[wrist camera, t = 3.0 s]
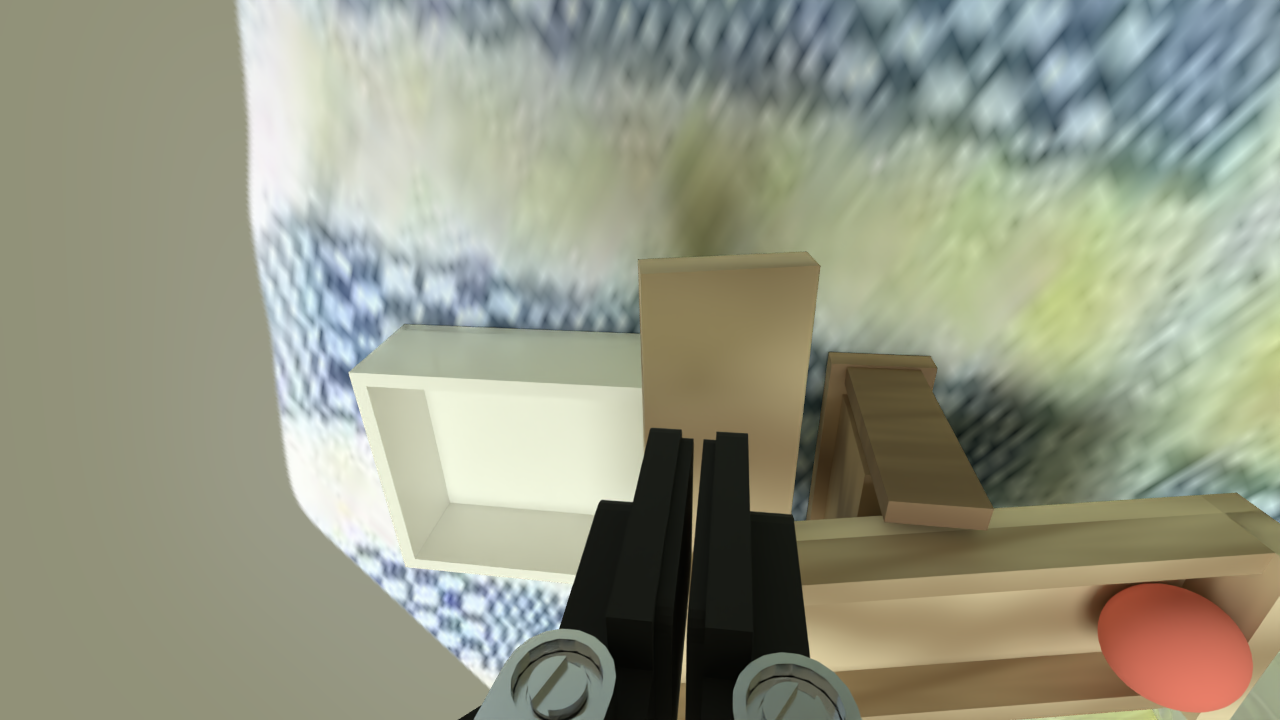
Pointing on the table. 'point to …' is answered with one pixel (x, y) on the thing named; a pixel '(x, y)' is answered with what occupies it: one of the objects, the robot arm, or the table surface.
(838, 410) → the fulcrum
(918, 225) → the table surface
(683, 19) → the table surface
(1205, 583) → the lever
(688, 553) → the robot arm
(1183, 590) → the ball
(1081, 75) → the table surface
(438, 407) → the dish
